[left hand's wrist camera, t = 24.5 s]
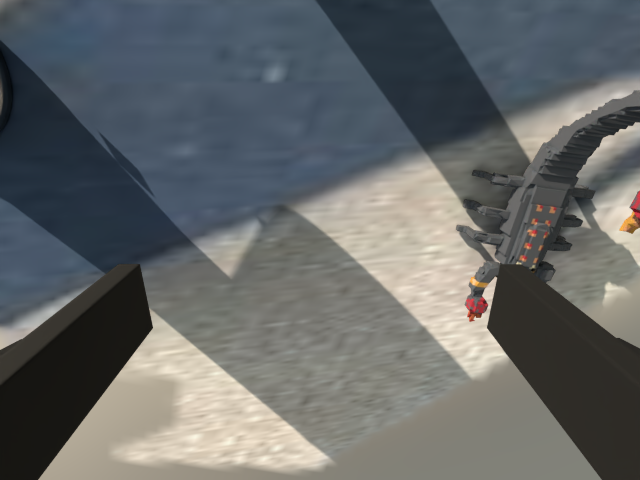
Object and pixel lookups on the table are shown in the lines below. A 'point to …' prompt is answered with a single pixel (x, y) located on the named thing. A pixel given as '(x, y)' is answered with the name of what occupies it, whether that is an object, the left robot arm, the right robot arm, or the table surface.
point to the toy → (546, 198)
